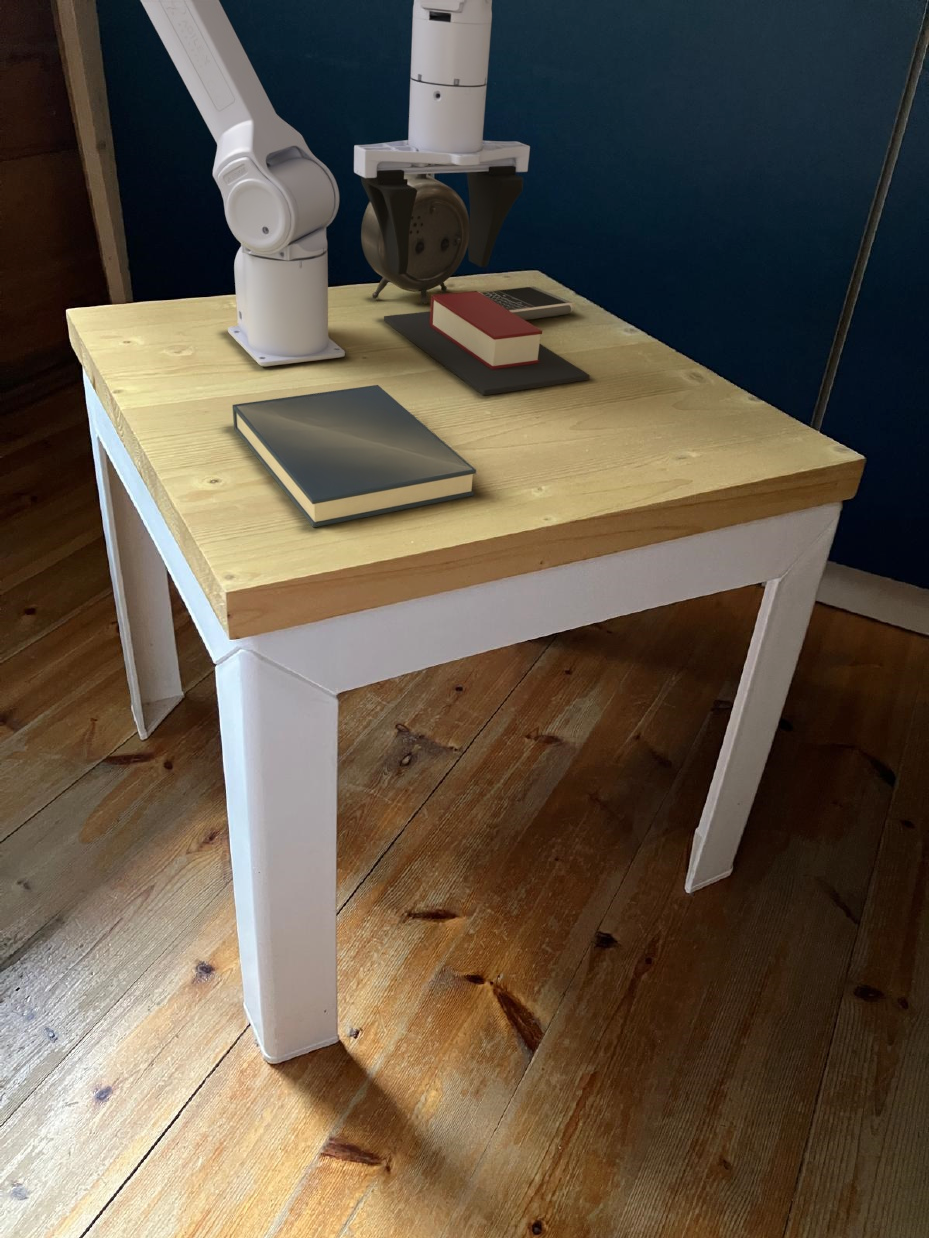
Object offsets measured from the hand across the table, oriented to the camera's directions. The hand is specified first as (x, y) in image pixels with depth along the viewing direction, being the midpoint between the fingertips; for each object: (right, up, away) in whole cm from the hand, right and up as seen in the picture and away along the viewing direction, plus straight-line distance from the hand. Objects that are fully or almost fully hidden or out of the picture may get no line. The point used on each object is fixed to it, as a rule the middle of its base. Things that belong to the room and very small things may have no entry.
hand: (438, 267), depth 81 cm
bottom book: (-6, -17, -9) cm, 21 cm away
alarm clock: (-3, +5, +23) cm, 24 cm away
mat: (+4, -3, +12) cm, 13 cm away
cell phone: (+8, +3, +21) cm, 22 cm away
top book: (+4, -3, +12) cm, 13 cm away
